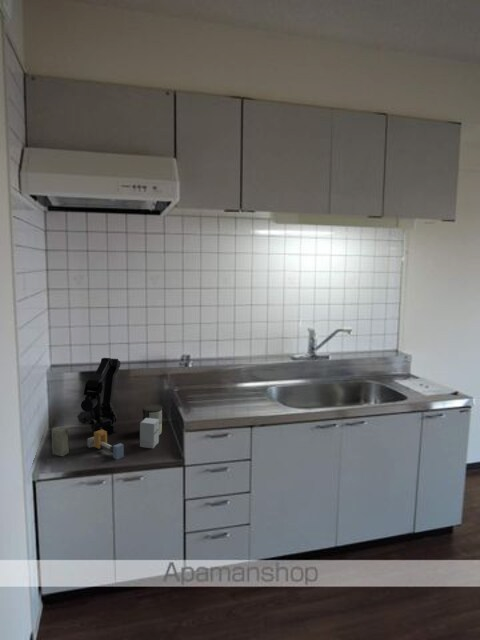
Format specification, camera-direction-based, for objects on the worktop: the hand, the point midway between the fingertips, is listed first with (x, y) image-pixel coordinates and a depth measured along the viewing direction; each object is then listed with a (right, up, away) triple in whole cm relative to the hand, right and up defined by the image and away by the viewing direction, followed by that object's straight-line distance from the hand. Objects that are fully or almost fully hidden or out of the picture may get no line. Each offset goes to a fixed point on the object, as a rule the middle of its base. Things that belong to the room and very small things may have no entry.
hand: (95, 435), depth 227 cm
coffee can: (+24, -4, +20) cm, 31 cm away
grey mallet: (+7, -7, -5) cm, 10 cm away
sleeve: (+3, -5, -2) cm, 6 cm away
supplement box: (+26, -6, +4) cm, 27 cm away
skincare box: (-14, -7, -9) cm, 17 cm away
